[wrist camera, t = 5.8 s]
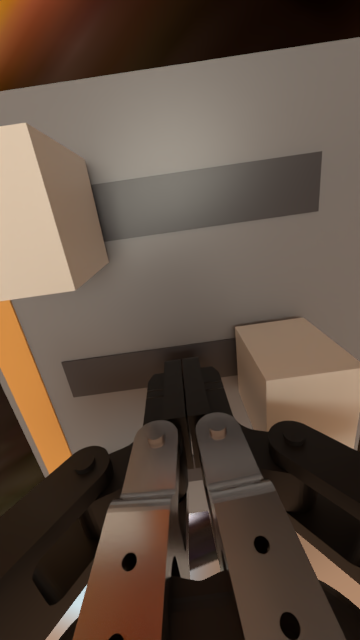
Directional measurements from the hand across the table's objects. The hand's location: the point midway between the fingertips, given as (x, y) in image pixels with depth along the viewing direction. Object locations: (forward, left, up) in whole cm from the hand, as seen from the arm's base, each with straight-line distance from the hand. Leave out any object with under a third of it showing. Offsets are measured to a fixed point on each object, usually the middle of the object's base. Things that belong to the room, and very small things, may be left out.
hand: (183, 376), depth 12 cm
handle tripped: (-4, 0, -1) cm, 4 cm away
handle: (+4, -7, -1) cm, 8 cm away
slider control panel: (0, 0, -5) cm, 5 cm away
